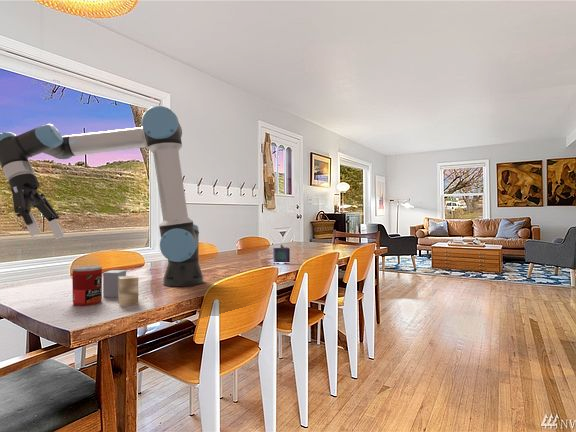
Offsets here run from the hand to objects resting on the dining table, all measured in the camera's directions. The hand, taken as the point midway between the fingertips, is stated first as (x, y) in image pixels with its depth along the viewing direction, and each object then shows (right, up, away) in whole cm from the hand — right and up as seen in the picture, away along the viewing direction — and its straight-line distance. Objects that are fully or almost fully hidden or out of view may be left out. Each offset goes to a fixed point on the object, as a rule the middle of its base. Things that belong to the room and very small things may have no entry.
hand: (48, 236), depth 110 cm
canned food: (+16, -20, -6) cm, 26 cm away
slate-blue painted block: (+19, -20, +5) cm, 28 cm away
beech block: (+28, -20, -6) cm, 35 cm away
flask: (+73, -20, +80) cm, 110 cm away
